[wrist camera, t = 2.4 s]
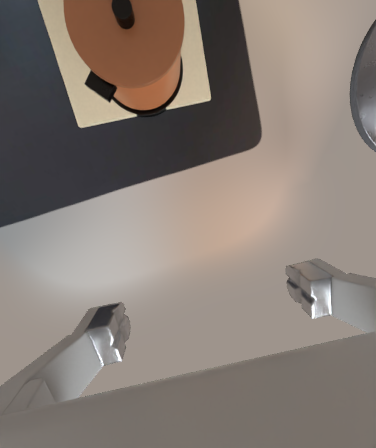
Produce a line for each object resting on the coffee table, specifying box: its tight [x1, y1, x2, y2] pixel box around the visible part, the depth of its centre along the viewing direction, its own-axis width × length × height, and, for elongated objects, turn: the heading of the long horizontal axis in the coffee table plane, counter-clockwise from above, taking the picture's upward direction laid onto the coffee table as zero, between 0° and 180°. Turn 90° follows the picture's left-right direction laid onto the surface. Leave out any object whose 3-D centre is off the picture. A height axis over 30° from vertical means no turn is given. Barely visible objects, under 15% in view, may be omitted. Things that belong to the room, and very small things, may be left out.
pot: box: [63, 0, 185, 110], centre depth 23 cm, size 16×13×11 cm
